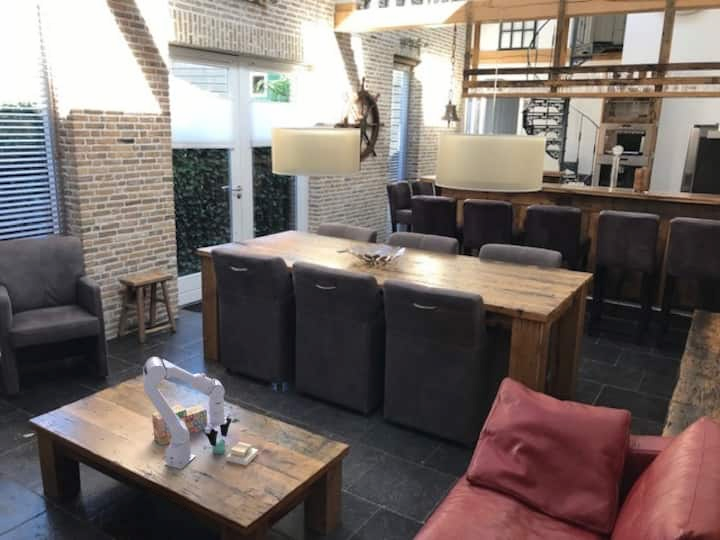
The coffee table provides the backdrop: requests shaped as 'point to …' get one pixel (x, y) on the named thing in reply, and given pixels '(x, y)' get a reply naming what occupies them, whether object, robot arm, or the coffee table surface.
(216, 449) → the teal rounded piece
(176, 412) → the stack of blocks
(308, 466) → the coffee table surface
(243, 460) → the white slab
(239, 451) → the maple block
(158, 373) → the robot arm
